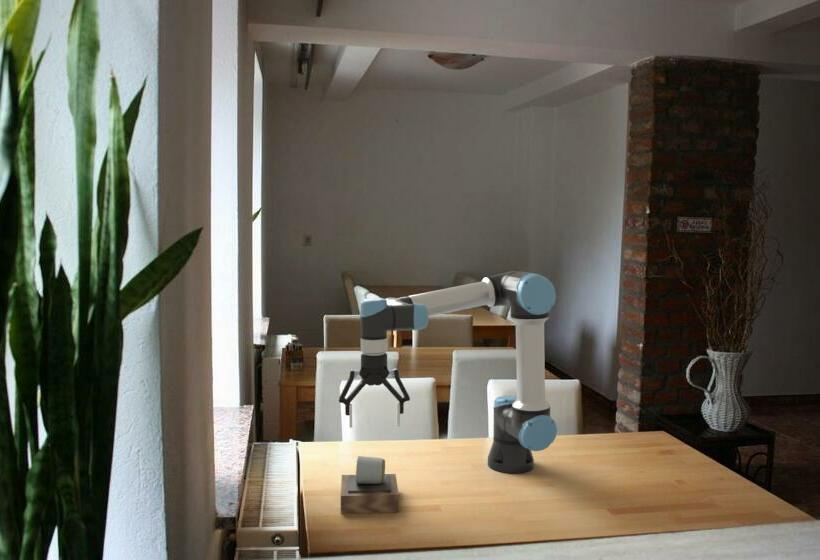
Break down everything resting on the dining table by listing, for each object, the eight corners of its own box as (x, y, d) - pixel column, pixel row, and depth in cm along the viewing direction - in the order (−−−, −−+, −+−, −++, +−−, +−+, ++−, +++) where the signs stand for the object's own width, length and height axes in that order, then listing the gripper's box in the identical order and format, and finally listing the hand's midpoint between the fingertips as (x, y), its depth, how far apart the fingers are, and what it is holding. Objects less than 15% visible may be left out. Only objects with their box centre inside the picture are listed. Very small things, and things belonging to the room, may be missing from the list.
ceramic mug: (384, 487, 205) (384, 461, 204) (355, 487, 205) (355, 460, 204) (385, 474, 216) (385, 449, 215) (357, 474, 215) (357, 449, 215)
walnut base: (395, 490, 218) (395, 471, 218) (398, 512, 202) (398, 492, 202) (341, 491, 217) (341, 472, 216) (340, 513, 201) (340, 493, 201)
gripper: (416, 349, 212) (416, 420, 215) (330, 351, 210) (331, 422, 212) (418, 354, 205) (419, 428, 207) (329, 356, 203) (330, 430, 205)
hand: (374, 425), depth 210 cm, fingers open, 13 cm apart
